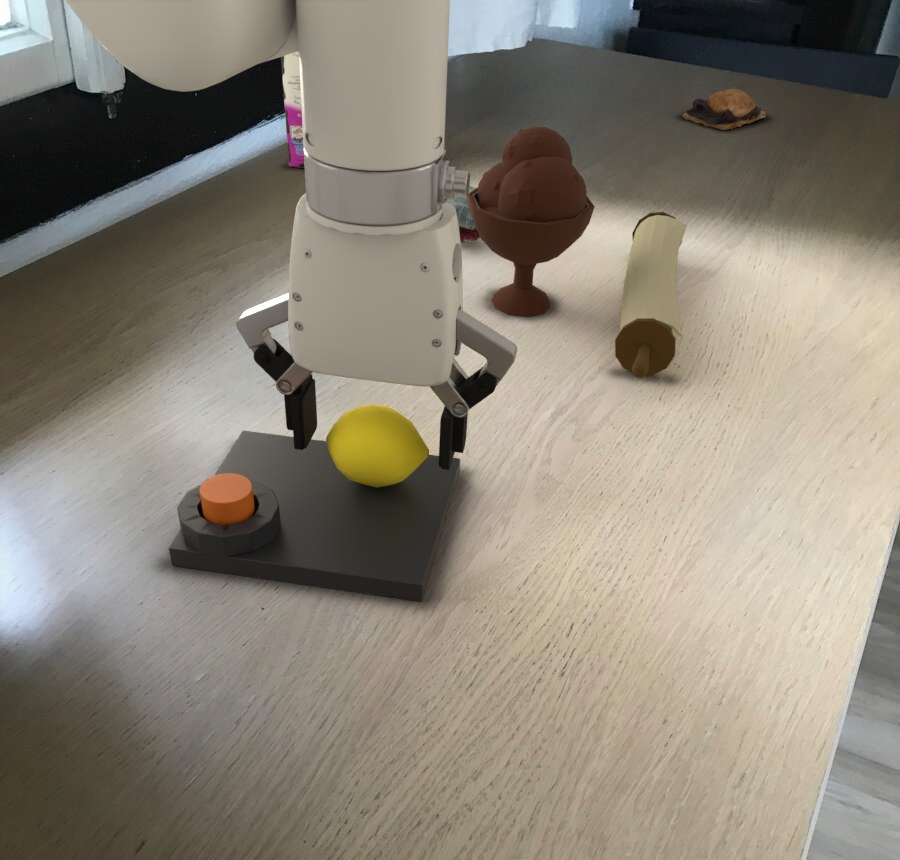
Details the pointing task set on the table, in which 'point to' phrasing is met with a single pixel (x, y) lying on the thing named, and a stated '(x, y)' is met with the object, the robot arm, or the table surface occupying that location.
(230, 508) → the tare button
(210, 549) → the scale
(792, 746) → the table surface
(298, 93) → the candy bar box
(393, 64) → the robot arm
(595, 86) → the table surface
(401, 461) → the lemon
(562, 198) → the ice cream bowl
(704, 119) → the chocolate marshmallow cracker
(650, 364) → the scroll
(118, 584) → the table surface
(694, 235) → the table surface
